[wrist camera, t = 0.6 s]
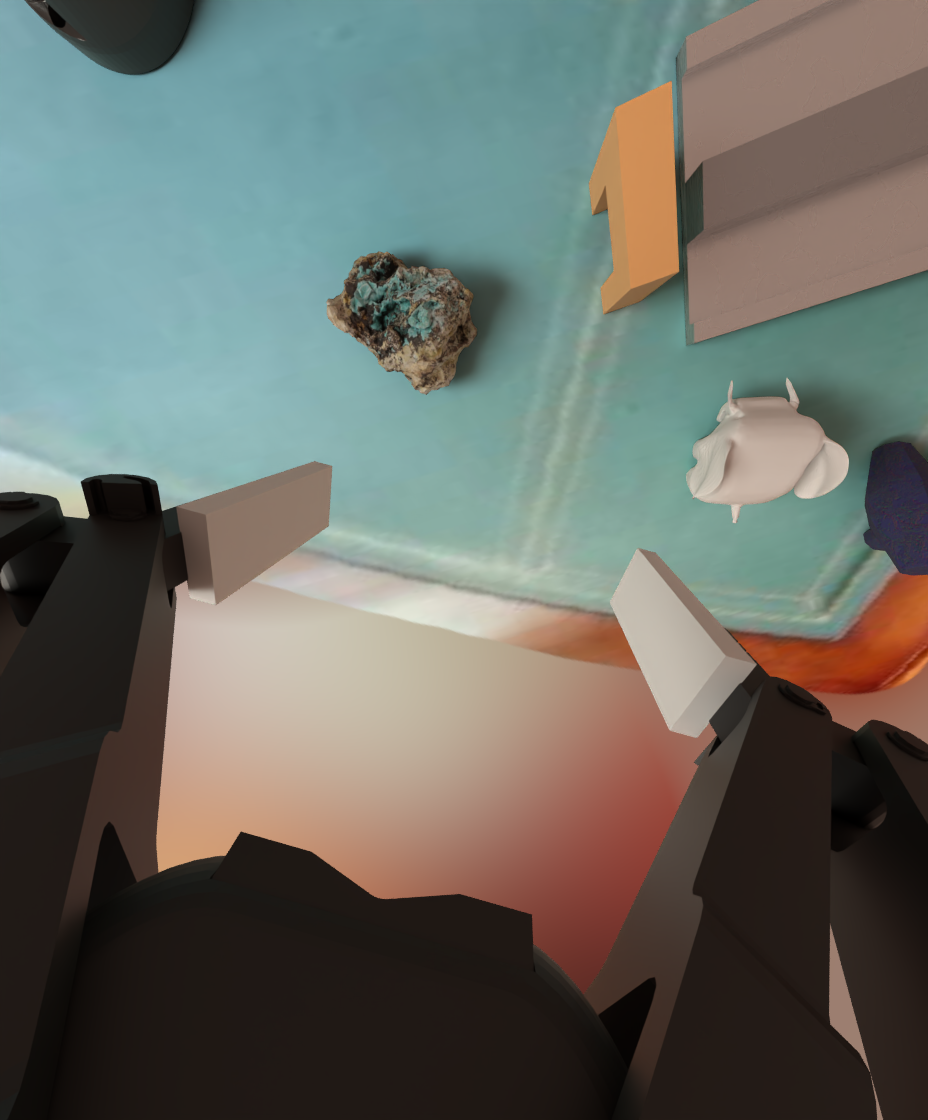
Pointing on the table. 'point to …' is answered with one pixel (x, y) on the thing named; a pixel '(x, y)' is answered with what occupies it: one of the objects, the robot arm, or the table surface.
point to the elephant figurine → (764, 454)
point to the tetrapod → (899, 506)
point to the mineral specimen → (406, 317)
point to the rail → (801, 157)
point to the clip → (638, 197)
